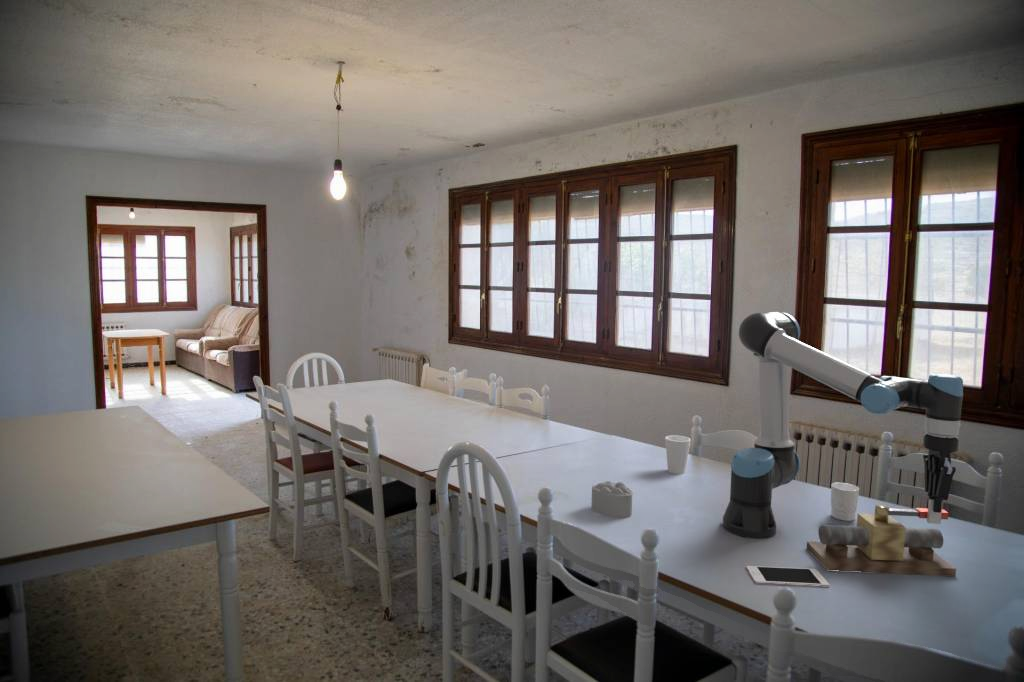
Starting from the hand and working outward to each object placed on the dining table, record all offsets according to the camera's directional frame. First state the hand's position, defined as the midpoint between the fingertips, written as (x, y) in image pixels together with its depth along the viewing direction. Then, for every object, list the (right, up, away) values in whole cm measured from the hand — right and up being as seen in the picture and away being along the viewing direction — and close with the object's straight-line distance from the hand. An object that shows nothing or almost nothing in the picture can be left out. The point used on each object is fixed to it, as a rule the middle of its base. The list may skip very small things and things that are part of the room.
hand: (933, 522), depth 170 cm
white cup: (-5, -9, +36) cm, 37 cm away
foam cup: (-47, -3, +80) cm, 93 cm away
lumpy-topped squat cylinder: (-78, -7, +38) cm, 87 cm away
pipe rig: (-12, -12, +5) cm, 17 cm away
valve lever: (-5, 0, +3) cm, 5 cm away
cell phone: (-41, -13, -5) cm, 43 cm away
